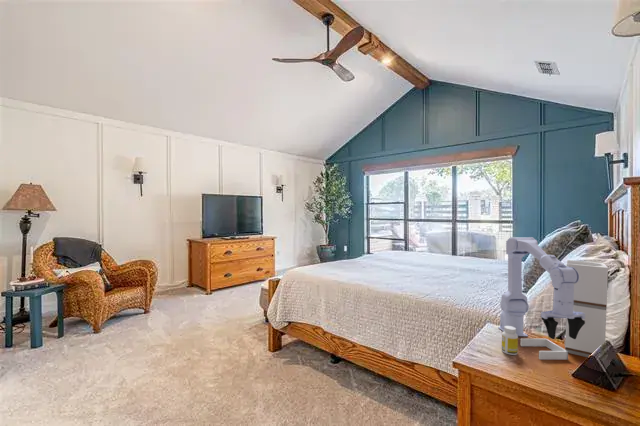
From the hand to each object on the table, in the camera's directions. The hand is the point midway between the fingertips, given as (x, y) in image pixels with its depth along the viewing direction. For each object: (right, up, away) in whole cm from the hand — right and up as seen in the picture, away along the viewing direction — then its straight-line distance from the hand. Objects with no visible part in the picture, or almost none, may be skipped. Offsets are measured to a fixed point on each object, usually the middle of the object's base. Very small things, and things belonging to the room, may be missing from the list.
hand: (562, 337), depth 111 cm
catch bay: (0, -10, +10) cm, 14 cm away
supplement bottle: (-13, -10, +10) cm, 19 cm away
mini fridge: (+17, -10, +11) cm, 23 cm away
